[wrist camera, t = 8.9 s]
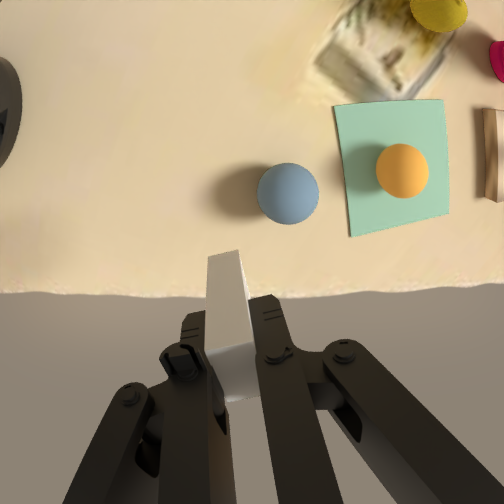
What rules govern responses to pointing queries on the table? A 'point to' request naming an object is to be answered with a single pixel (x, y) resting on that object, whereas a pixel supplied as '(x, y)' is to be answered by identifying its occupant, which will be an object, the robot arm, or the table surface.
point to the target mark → (371, 146)
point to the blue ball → (287, 193)
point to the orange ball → (402, 171)
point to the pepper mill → (497, 58)
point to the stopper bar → (494, 154)
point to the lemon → (439, 14)
